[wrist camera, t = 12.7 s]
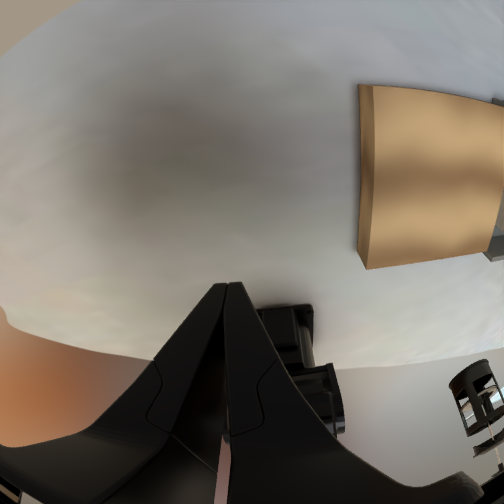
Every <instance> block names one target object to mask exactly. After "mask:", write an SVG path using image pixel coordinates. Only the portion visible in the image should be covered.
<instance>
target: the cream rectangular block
mask: <svg viewBox="0 0 504 504" xmlns="http://www.w3.org/2000/svg"><path fill="white" fill-rule="evenodd" d="M495 225H496V226H497V227H498V228H499V229H500V230H501V231H502V232H503V233H504V188H503V193H502V198H501V203H500V207H499V211H498V215H497V219H496V223H495Z"/></svg>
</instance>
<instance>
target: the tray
mask: <svg viewBox="0 0 504 504" xmlns="http://www.w3.org/2000/svg"><path fill="white" fill-rule="evenodd" d="M493 104H495V105H499V106H502V107H504V101H501V100H498V99H494V98H493ZM483 254H484V255H485V256H486V257H487V258H488V259H489V260H490V261H491V262H494V261H499V260H503V259H504V233H503V232H502V231H501V230H500V229H499V228H498V227H497V226H496V225H495V227H494V230H493V234H492V237H491V240H490V243H489V247H488V250H487V251H486V252H483Z"/></svg>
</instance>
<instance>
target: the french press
mask: <svg viewBox="0 0 504 504" xmlns="http://www.w3.org/2000/svg"><path fill="white" fill-rule="evenodd" d="M488 363H489V362H488V360H487V359H482V360H479V361H477V362H475V363H473V364H471V365H469V366H468V367H466V368H465V369H464V370H462V371H461V372H460V373H458V374H457V375H456V376H455V377H454V378H453V379H452V380H451V382H450V383H449V388H450V389H451V390H452V393H453V396H454V398H455V401H456V404H457V406H458V409H459V412H460V415H461V418H462V421H463V424H464V427H465V430H466V433H467V437H469V436H472V435H474V434H476V433H478V432H480V431H482V430H483V429H485V428H487V427H488V428H489V430H490V434H491V437H492V438H490V439H489V440H487V441H485V442H484V443H482V444H480V445H478V446H474V447H473V449H474V452H475V456H473V458H474V457H476V456H478V455H482V454H485V453H487V452H488V451H490V450H492V449H493V448H495V450H496V453H497V457H498V461H499V465H498V468H499V471H498V472H497V473H495V474H494V475H493V476H492V477H494V476H496V475H498V474H499V473H501V472H502V471H504V466H503V463H501V461H500V457H499V454H498V450H497V446H498V445H500V444H501V443H503V442H504V428H503V429H502V431H501V432H500V433H498V434H497V435H495V436H494V437H493V434H492V431H491V428H490V425H491V424H493V423H494V422H496V421H497V420H498V419H500V418H501V417H502V416H503V415H504V405H502V406H500V407H499V408H497V409H495V410H494V408H493V406H492V403H491V401H490V398H489V397H490V396H491V395H493V393H495V391H496V390H497V389H498V391H499V394H500V396H501V398H502V401H503V403H504V398H503V395H502V393H501V391H500V388H499V386H498V384H497V382H496V379H495V377H494V375H493V373H492V371H491V369H490V367H489V364H488ZM491 378H493V380H494V382H495V384H496V385H492V386H490V387H488V388H486V389H485V387H484V386H485V385H486V384H487V383H488V382H489V381H490V380H491ZM476 392H477V393H476ZM467 397H468V398H469V400H468V401H467V402H466V403H465V404H464V405H463V406H462V407H461V406H460V403H459V400H461V399H464V398H467ZM471 409H473V411H474V414H475V417H476V420H477V422H476V423H474V424H473V425H471V426H470V427H469V428H468V426H467V423H466V420H465V417H464V414H463V412H466V411H469V410H471Z"/></svg>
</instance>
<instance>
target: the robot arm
mask: <svg viewBox="0 0 504 504" xmlns="http://www.w3.org/2000/svg"><path fill="white" fill-rule="evenodd" d="M307 310H308V311H307ZM313 317H314V311H313V307H312V306H311V305H303V306H295V307H285V308H276V309H266V310H255V308H254V306H253V304H252V302H251V300H250V298H249V296H248V293H247V291H246V289H245V287H244V285H243V283H242V282H230V283H229V284H227V283H215V284H214V285H213V286H212V287H211V288H210V289H209V291H208V292H207V293H206V294H205V296H204V297H203V298H202V299H201V300H200V302H199V303H198V304H197V305H196V307H195V308H194V309H193V310H192V311H191V313H190V314H189V315H188V316H187V318H186V319H185V320H184V321H183V322H182V324H181V325H180V326H179V327H178V329H177V330H176V331H175V332H174V334H173V335H172V336H171V337H170V339H169V340H168V341H167V342H166V343H165V345H164V346H163V347H162V348H161V350H160V351H159V352H158V353H157V355H156V356H155V357H154V358H153V360H154V361H151V362H150V363H149V364H148V366H147V367H146V368H145V369H144V371H143V372H142V373H141V374H140V375H139V376H138V378H137V379H136V380H135V381H134V382H133V383H132V384H131V385H130V386H129V387H128V389H127V390H126V391H125V392H124V393H123V394H122V395H121V396H120V397H119V398H118V399H117V400H116V401H115V402H114V403H113V404H112V405H111V406H110V407H109V408H108V409H107V410H106V411H105V412H104V413H103V414H102V415H101V416H100V417H99V418H98V419H97V420H96V421H94V422H93V423H92V424H91V425H90V426H88V427H87V428H85V429H84V430H82V431H80V432H78V433H75V434H72V435H69V436H65V437H61V438H57V439H53V440H50V441H46V442H41V443H37V444H33V445H28V446H23V447H16V448H15V447H14V448H13V447H6V446H3V445H1V444H0V504H214V497H215V488H216V481H217V472H218V464H219V455H220V448H221V439H222V435H223V438H224V441H225V443H226V444H227V445H230V450H231V466H230V476H229V486H228V496H227V504H504V471H502V472H501V473H499V474H498V475H496V476H495V477H493V478H491V479H490V480H488V481H487V482H485V483H483V484H482V485H480V486H479V485H478V484H477V483H476V482H475V481H474V480H473V479H472V478H470V477H469V476H468V475H467V474H465V473H464V472H463V471H460V472H457V473H455V474H453V475H451V476H448V477H446V478H444V479H442V480H439V481H437V482H435V483H432V484H430V485H427V486H423V487H411V486H406V485H403V484H401V483H399V482H397V481H395V480H394V479H392V478H390V477H389V476H387V475H385V474H384V473H382V472H381V471H379V470H378V469H376V468H375V467H373V466H371V465H370V464H369V463H367V462H365V461H364V460H362V459H361V458H360V457H358V456H357V455H355V454H354V453H352V452H351V451H349V450H348V449H347V448H346V447H344V446H343V445H342V444H341V443H340V442H339V441H338V440H337V434H342V433H344V432H345V418H344V409H343V403H342V398H341V393H340V389H339V386H338V382H337V378H336V375H335V371H334V367H333V363H328V364H326V365H323V366H317V367H315V362H314V356H313V350H312V347H313Z"/></svg>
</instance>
